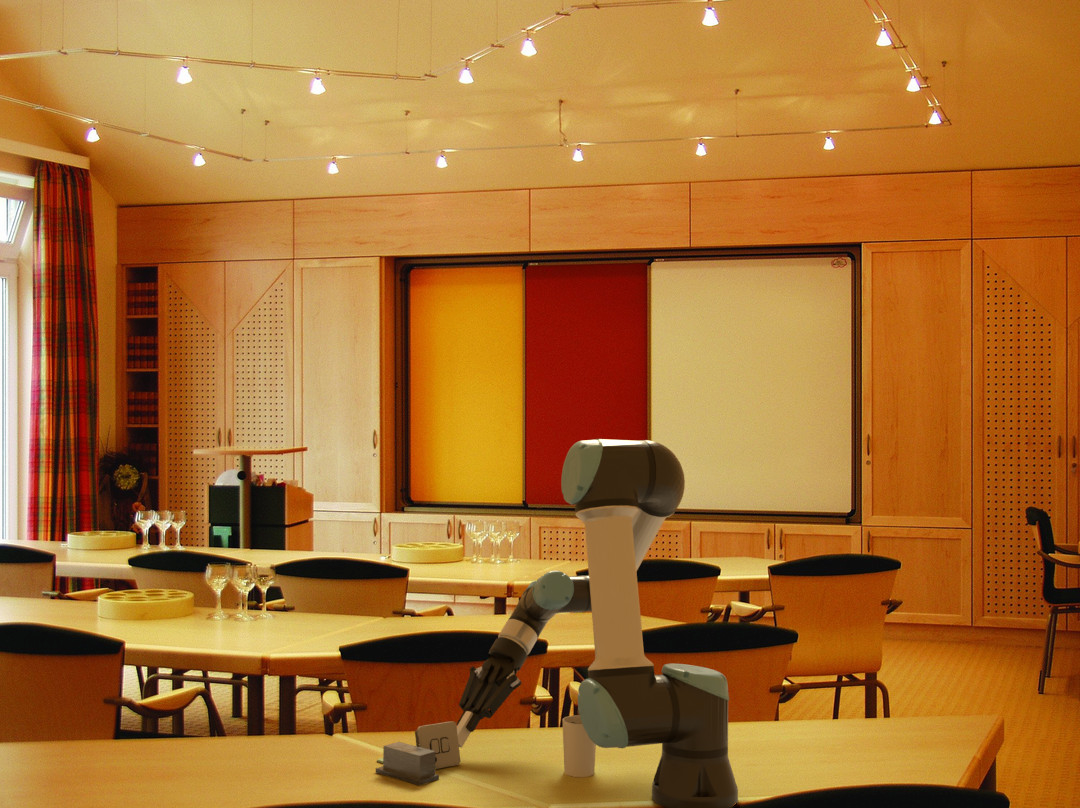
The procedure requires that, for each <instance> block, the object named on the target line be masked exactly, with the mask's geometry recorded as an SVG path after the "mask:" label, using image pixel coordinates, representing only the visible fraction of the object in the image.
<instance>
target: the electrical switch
mask: <svg viewBox="0 0 1080 808" xmlns="http://www.w3.org/2000/svg"><path fill="white" fill-rule="evenodd" d="M456 727H457V722H455V721H445V722H439V723H433V724H425V725H420V726H417V729H416V730H415V731H414V737H415V744H416V745H415V746H417V747H421V748H425V749H429V750H432V751H435V770H438V769H444V768H449V767H454V766H459V765H460V764H461V753H460V747H459V744H458V736H457V728H456Z"/></svg>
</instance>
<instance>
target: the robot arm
mask: <svg viewBox="0 0 1080 808" xmlns="http://www.w3.org/2000/svg"><path fill="white" fill-rule="evenodd" d="M685 484H686V480H685V474H684V470H683V466H682V463H681V462H680V460H679V459H678V457H677V455H676V454H675V453H674V452H673V451H672V450H671V449H669V448H668V447H667V446H665V445H664V444H661V443H660V442H657V441H654V440H649V439H648V440H647V439H645V440H644V439H643V440H630V439H629V440H628V439H607V438H606V439H604V438H603V439H602V438H595V439H587V440H579V441H577V442H575V443H573V445H572V446H571V447H570V448H569V450H568V452H567V454H566V456H565V459H564V462H563V465H562V472H561V485H560V486H561V493H562V495H563V499H564V501H565V502H566V503H568V504H569V505H571V506H572V505H574V508H575V509H574V511H575V517H576V518H578V519H579V520H580V521H581V522H582V523H583V524H584V529H585V530H584V533H585V542H586V543H585V545H586V557H587V569H588V575H568V574H567V573H564V572H563V571H560V570H551V571H547V572H546V573H544V575H541V576H540V577H539V578H538V579H537V580H535V581H531V583H530V584H528V586H527V588H526V589H525V590H524V591H523V593H522V594H521V597H520V599H519V601H518V602H517V604H516V606H515V608H514V609H513V612H512V613H511V615H510V616H509V618H508V619H507V621H506V622H505V624H504V625H503V627H502V629H501V630H500V632H499V633H498V635H497V636H498V638H495V640H494V642H493V643H492V645H491V647H490V649H489V651H488V658H487V659H485V661H484V662H483V663H482V665H481V666H479V667H477V668H476V667H475V666H471V667H470V668H469V677H468V679H467V682H466V684H465V687H464V689H463V693H462V695H461V699H460V701H459V703H458V707H460V709H462V711H463V712H462V714H461V715H460V717H459V719H458V720H457V722H456V728H457V736H458V744H459V748H463V746H464V745H465V743H466V741H468V738H469V737H470V734H471V733H473V732H474V731H475V730H476V728H477V726H478V725H479V723H480V721H482V720H483V719H485V718H487V719H491V718H492V717H493V715H494V714H496V712H497V711H498V709H499V708H500V707H501V706H502V705H503V703H505V701H506V700H507V699H508V698H509V696H510V695H511V694H512V693H513V691H515V689H517V688H519V686H521V685H522V681H521V680H520V678H519V677H518V676H517V673H518V672H519V671H520V670H521V669H522V667H523V665H524V664H525V662H526V659H527V658H528V655H529V654H530V653H531V651H532V649H533V648H534V646H535V644H536V642H537V640H538V639H539V637H540V635H541V634H542V632H543V630H544V629H545V627H546V625H547V624H548V622H549V621H550V620H551V619H552V618H553V617H554V616H555V615H556V614H562V613H563V614H564V613H566V614H567V613H585V612H588V613H589V612H591V617H592V618H591V619H592V632H593V641H594V657H595V659H594V660H593V662H592V663H591V664H590V665H589V667H588V668H587V673H588V674H587V676H588V677H587V678H585V679H584V680H582V681H581V682H580V683H579V686H578V689H577V690H578V694H577V707H578V712H579V716H580V718H581V721H582V724H583V727H584V729H585V731H586V733H587V734H588V736H589V738H590V739H591V741H592V742H593V743H594V744H596V746H597V747H599V748H603V749H612V748H618V749H626V748H630V747H638V746H650V745H658V744H659V745H660V744H661V756H660V759H659V763H658V765H657V768H656V771H655V774H654V778H653V780H652V784H651V798H652V800H653V801H654V802H655V803H656V804H658V805H660V806H662V807H663V808H734V807H733V805H734V804H735V803H737V802H738V803H739V787H738V785H737V783H736V778H735V774H734V773H733V769H732V765H731V761H730V759H729V701H730V697H729V695H730V694H729V686H728V680H727V677H726V676H725V675H724V674H723V673H721V672H720V671H718V670H716V669H711V668H708V667H704V666H699V665H698V666H697V665H691V664H684V663H666V664H663V666H662V669H661V674H655V665H654V663H653V662H652V661H651V660H649V659H648V658H647V656H646V655H645V651H644V641H643V639H644V638H643V629H642V628H643V627H642V618H641V607H640V606H641V605H640V597H639V585H638V576H637V573H638V572H637V571H638V570H639V568H640V566H641V564H642V562H643V561H644V559H645V557H646V556H647V553H648V552H649V550H650V548H651V545H652V543H653V542H654V540H655V538H656V537H657V534H658V533H659V532H660V530H661V527H662V526H663V524H664V522H665V520H666V518H669V517H671V516H673V515H674V513H675V512H676V511H677V509H678V507H679V505H680V504H681V502H682V500H683V497H684V492H685ZM738 803H737V804H738Z"/></svg>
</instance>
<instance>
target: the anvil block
mask: <svg viewBox="0 0 1080 808" xmlns="http://www.w3.org/2000/svg"><path fill="white" fill-rule="evenodd" d="M382 752H383V757H382V758H383V763H382V764H383V765H382V766H379V767H376V768H375V773H376V774H379V775H382V776H385V777H388V778H389V777H390V778H393V779H396V780H399V781H403V782H406V783H409V784H413V785H416V786H422V785H426V784H429V783H432V782H435V781H438V780H440V774H436V769H435V751H432V750H429V749H425V748H421V747H417V746H416V745H413V744H409V743H407V742H401V741H396V742H393V743H389V744H385V745H383V751H382Z"/></svg>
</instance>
